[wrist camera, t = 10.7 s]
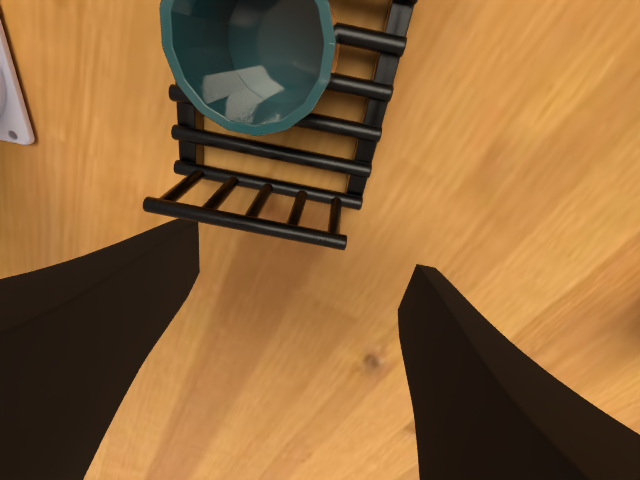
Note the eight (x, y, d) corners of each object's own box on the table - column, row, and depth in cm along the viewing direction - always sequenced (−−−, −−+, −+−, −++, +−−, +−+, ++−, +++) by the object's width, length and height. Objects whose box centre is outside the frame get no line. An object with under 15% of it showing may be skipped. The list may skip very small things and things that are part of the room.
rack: (188, 166, 20) (123, 213, 14) (174, -204, 12) (19, -428, 7) (358, 200, 20) (362, 259, 15) (449, -142, 13) (534, -303, 7)
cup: (223, 96, 16) (166, 118, 11) (225, -40, 13) (151, -94, 8) (327, 118, 16) (317, 148, 11) (351, -13, 13) (352, -51, 8)
